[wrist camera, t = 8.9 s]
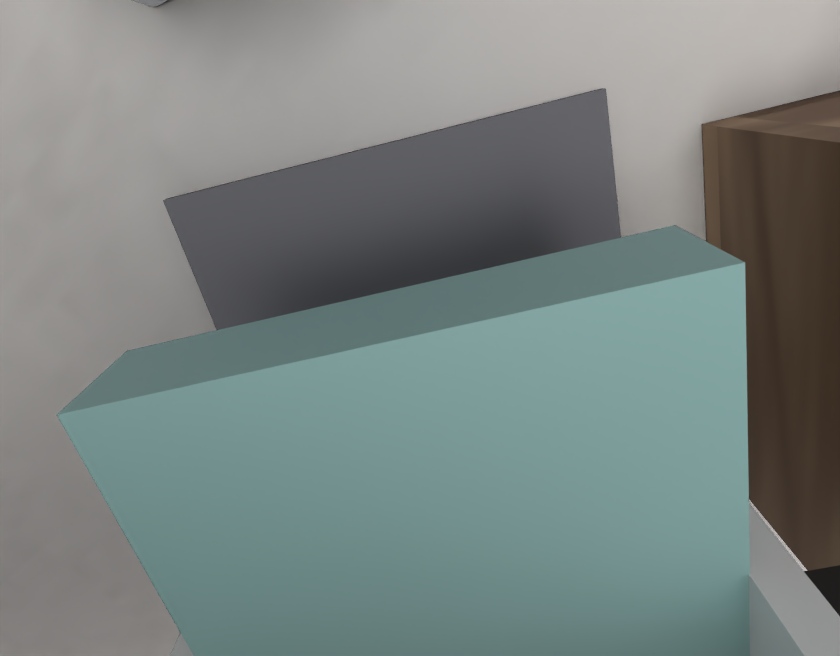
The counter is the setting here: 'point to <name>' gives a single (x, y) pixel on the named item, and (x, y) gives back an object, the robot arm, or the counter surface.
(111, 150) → the counter surface
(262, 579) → the lid
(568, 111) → the mat
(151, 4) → the light bulb box
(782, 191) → the box
